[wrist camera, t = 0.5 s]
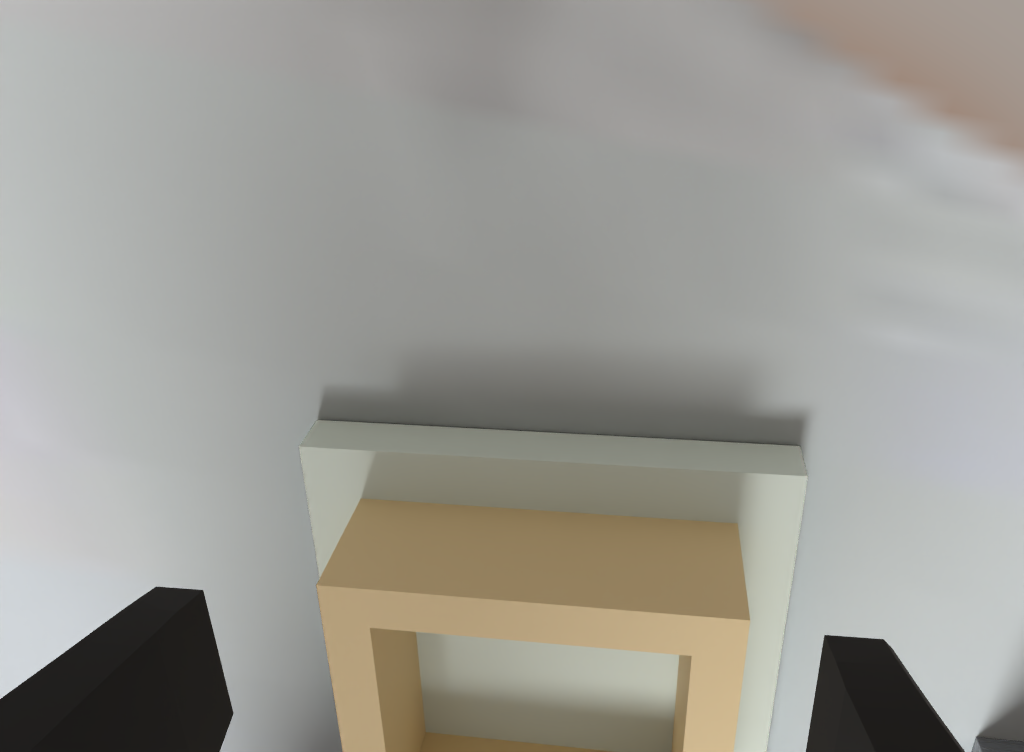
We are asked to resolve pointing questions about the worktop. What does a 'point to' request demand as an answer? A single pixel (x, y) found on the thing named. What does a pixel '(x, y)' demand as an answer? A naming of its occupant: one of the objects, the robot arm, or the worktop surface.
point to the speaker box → (997, 745)
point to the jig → (551, 587)
